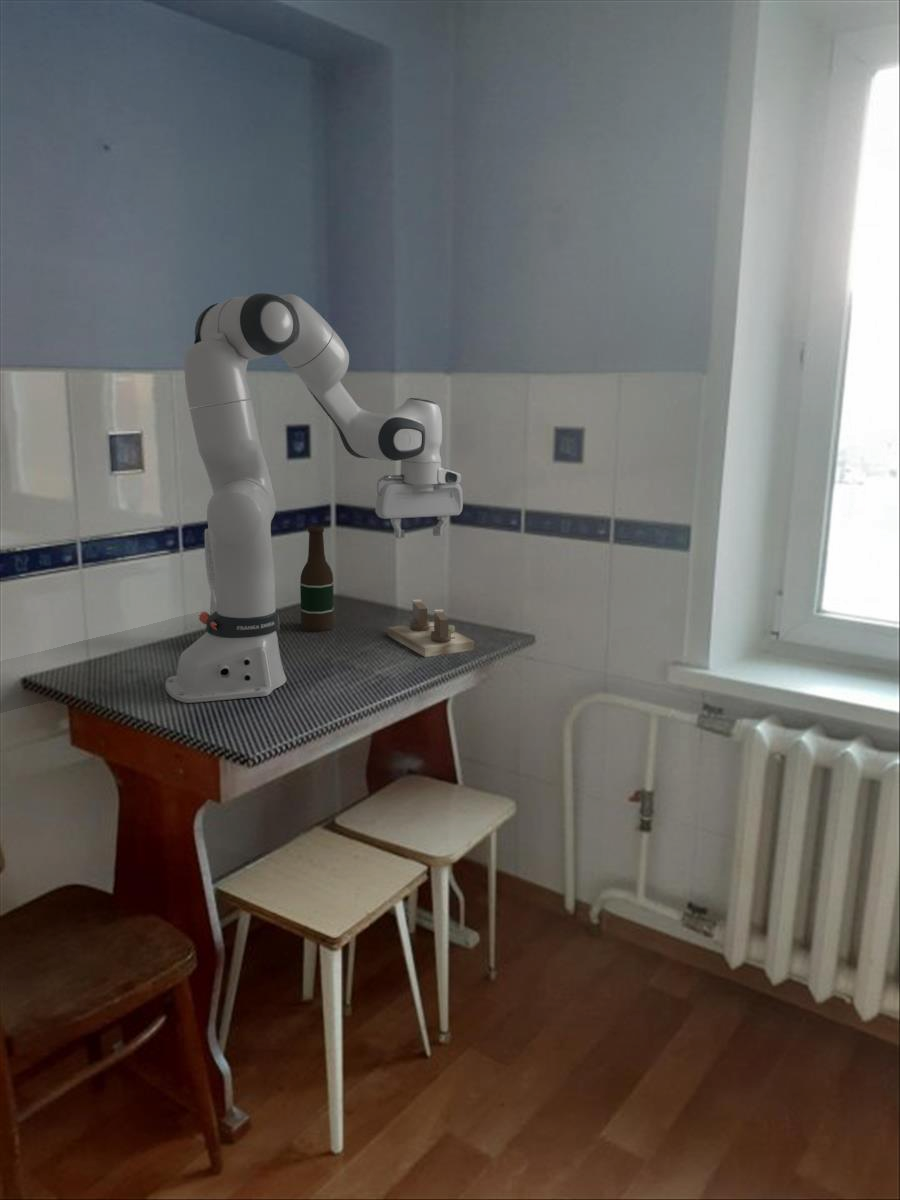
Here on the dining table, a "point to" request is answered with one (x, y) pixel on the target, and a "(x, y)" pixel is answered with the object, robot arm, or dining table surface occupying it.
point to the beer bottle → (316, 586)
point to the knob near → (440, 627)
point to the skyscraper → (210, 572)
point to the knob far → (419, 617)
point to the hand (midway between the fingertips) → (418, 536)
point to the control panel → (425, 645)
